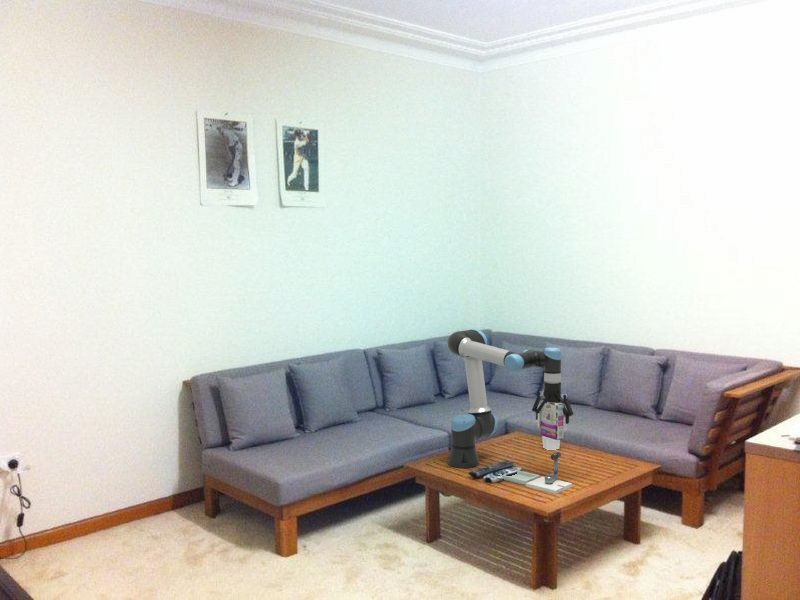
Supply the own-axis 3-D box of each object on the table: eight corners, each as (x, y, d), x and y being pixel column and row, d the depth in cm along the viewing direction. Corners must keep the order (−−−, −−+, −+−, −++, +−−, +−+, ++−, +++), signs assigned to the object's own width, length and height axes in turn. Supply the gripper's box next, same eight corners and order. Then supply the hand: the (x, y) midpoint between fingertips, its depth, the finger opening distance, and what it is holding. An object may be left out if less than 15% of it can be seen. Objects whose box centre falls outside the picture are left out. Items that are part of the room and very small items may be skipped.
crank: (550, 484, 314) (550, 458, 313) (543, 482, 316) (543, 457, 315) (562, 477, 323) (562, 452, 322) (554, 476, 325) (554, 451, 324)
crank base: (526, 486, 317) (526, 482, 317) (542, 479, 326) (542, 475, 326) (555, 494, 307) (555, 490, 307) (571, 486, 316) (571, 482, 316)
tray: (494, 477, 331) (494, 473, 330) (508, 472, 338) (508, 468, 338) (525, 485, 319) (525, 481, 319) (539, 479, 326) (539, 475, 326)
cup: (537, 447, 380) (537, 429, 379) (553, 445, 384) (553, 427, 383) (549, 452, 371) (549, 433, 370) (565, 449, 375) (565, 431, 374)
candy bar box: (565, 439, 327) (565, 403, 326) (556, 440, 325) (557, 404, 324) (548, 433, 337) (548, 398, 336) (539, 435, 334) (540, 400, 333)
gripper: (581, 383, 325) (580, 430, 327) (531, 378, 339) (531, 423, 341) (574, 385, 319) (574, 434, 321) (524, 380, 333) (524, 426, 334)
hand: (552, 428), depth 331 cm, fingers closed on candy bar box, 12 cm apart
